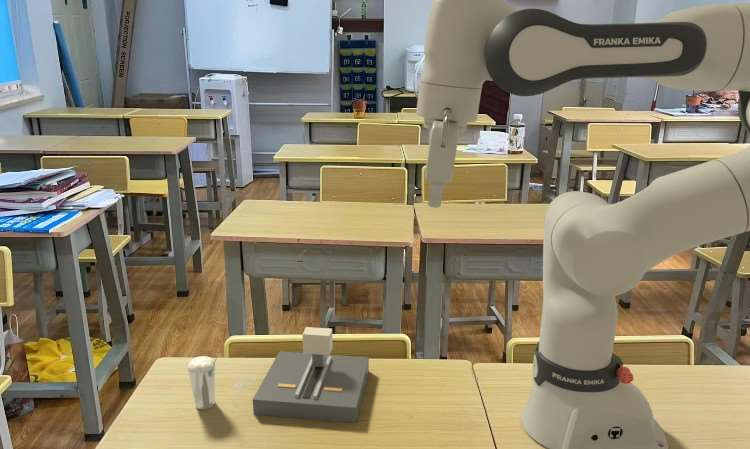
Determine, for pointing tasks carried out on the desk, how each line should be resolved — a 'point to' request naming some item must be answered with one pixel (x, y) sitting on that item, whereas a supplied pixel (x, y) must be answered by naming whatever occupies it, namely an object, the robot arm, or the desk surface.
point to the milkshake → (203, 381)
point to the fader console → (313, 387)
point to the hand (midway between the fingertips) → (434, 198)
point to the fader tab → (317, 344)
